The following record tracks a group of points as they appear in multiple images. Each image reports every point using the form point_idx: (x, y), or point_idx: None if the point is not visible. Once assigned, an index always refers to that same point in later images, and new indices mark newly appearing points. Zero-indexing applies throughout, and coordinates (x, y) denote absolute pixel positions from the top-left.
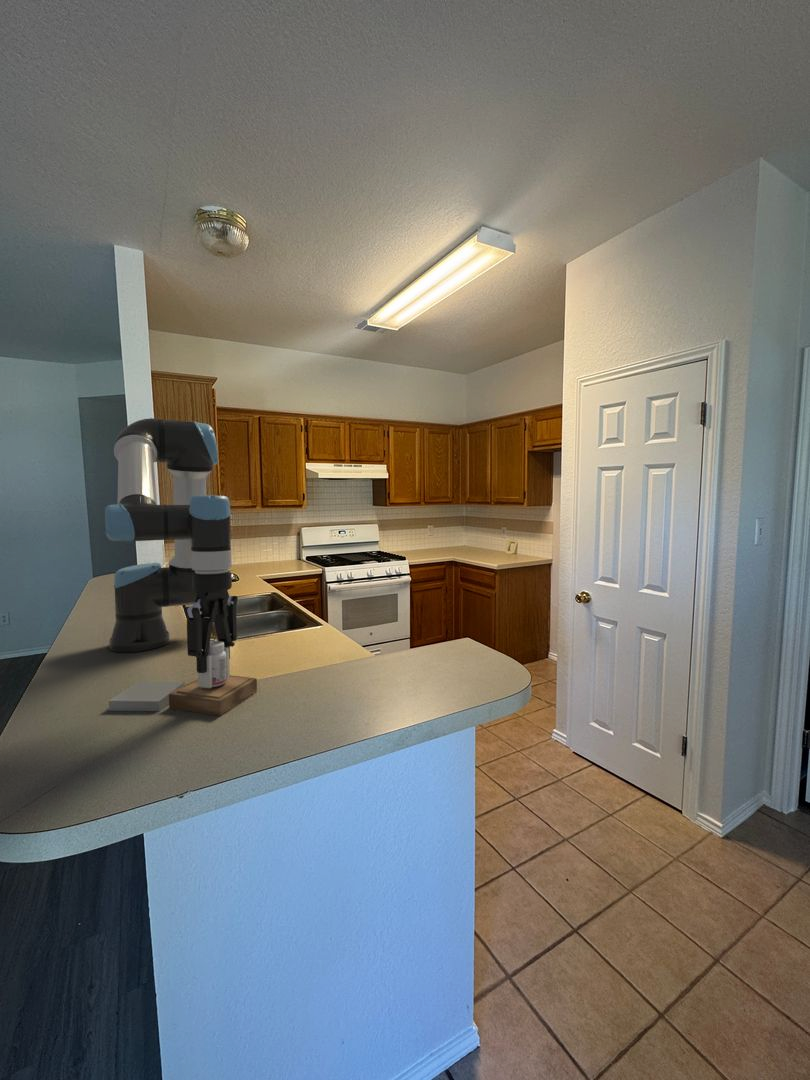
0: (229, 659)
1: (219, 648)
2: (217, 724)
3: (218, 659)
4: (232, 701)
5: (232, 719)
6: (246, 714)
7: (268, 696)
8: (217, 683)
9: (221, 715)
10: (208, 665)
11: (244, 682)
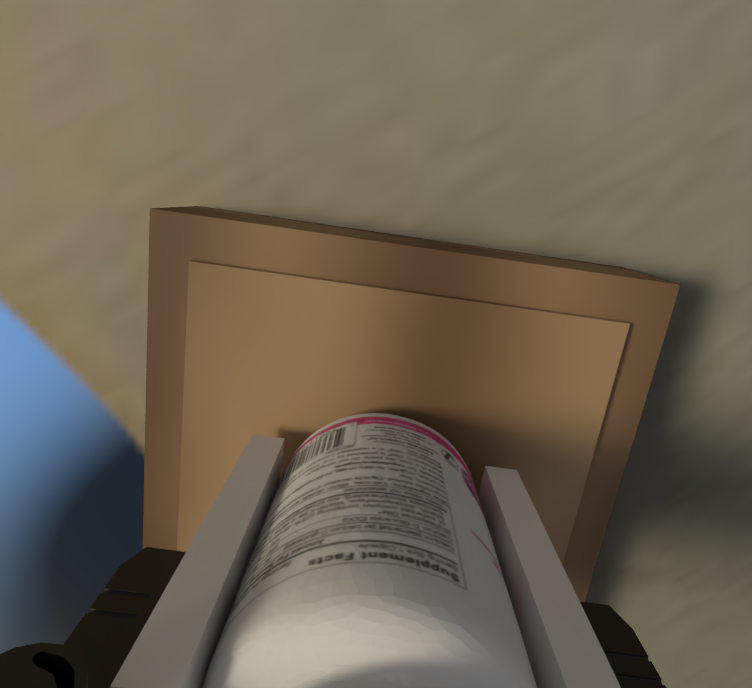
0: (143, 551)
1: None
2: (743, 224)
3: (478, 609)
4: (504, 254)
5: (669, 158)
6: (587, 91)
7: (255, 67)
8: (453, 448)
9: (614, 266)
10: (589, 638)
11: (278, 271)
